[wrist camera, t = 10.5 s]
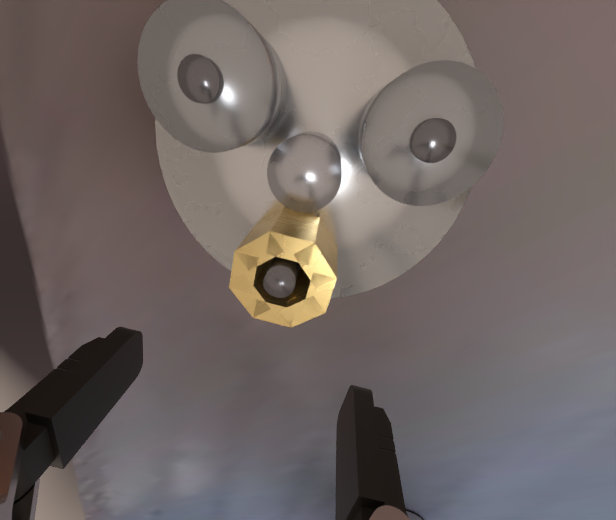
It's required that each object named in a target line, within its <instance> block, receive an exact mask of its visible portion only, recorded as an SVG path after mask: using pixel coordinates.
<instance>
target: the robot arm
mask: <svg viewBox="0 0 616 520" xmlns="http://www.w3.org/2000/svg"><path fill="white" fill-rule="evenodd" d="M142 364H143V339H142V333H141V332H140V331H136V330H132V329H128V328H124V327H118V328H116V329H115V330H114V331H113V332H111V333H110V334H109V335H108V336H107V337H106V338H105V339H104V338H100V337H98V338H96V339H94V340H92V341H90V342H88V343H86V344H84V345H82V346H81V347H80V348H79V349H77V350H76V351H75V352H74V353H73V354H72V355H70V356H69V358H68V359H66V360H65V361H63V362H62V363H61V364H60V365H59V366H58V367H57V369H54V370H53V371H52V372H51V373H49V374H48V375H47V376H46V377H45V378H44V379H43V380H41V381H40V382H39V383H38V384H37V385H36V386H34V387H33V388H32V389H31V390H30V391H29V392H27V393H26V394H25V395H24V396H23V397H22V398H20V399H19V400H18V401H17V402H16V403H15V404H13V405H12V406H11V407H10V408H9V409H7V410H6V411H4V412H0V520H34V518H35V511H36V504H37V497H38V489H39V480H40V479H39V478H40V476H41V475H42V474H43V473H44V471H45V470H46V469H47V468H48V467H49V466H53V467H57V468H61V469H64V468H65V466H66V465H67V464H68V463H69V461H70V460H71V459H72V458H73V456H74V455H75V454H76V453H77V451H78V450H79V449H80V448H81V446H82V445H83V444H84V443H85V441H86V440H87V439H88V438H89V436H90V435H91V434H92V433H93V431H94V430H95V429H96V428H97V426H98V425H99V424H100V423H101V421H102V420H103V419H104V418H105V416H106V415H107V414H108V413H109V411H110V410H111V409H112V408H113V406H114V405H115V404H116V403H117V401H118V400H119V399H120V398H121V396H122V395H123V394H124V393H125V391H126V390H127V389H128V388H129V386H130V385H131V384H132V383H133V381H134V380H135V379H136V378H137V376H138V374H139V372H140V370H141V368H142ZM336 520H422V519H421V518H420V517H418V516H417V515H415V514H413V513H411V512H408V511H406V509H405V505H404V499H403V493H402V487H401V481H400V475H399V469H398V463H397V457H396V455H395V445H394V442H393V434H392V428H391V423H390V421H389V419H388V417H387V415H386V413H385V411H384V410H383V409H382V408H378V407H374V403H373V395H372V391H371V390H370V389H366V388H362V387H358V386H354V385H351V386H350V387H349V390H348V392H347V395H346V397H345V399H344V402H343V404H342V407H341V409H340V412H339V415H338V421H337V442H336Z"/></svg>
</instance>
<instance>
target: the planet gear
mask: <svg viewBox="0 0 616 520" xmlns="http://www.w3.org/2000/svg"><path fill="white" fill-rule="evenodd" d="M274 257H280V258H283V259H287V260H291V261H295V262H299V264H300V265H301V267H302V268H303V270H301V271H299V272H298V276H297V279H296V283H295V287H294V290H293V292H292V293H291V294H290V295H289V296H287V297H284V298H277V297H274V296H271V295H270V294H268V293H267V292H266V290H265V289H264V286H263V279H264V277H265V275H266V273H267V271H268V268H269V266H270V264H271V262H272V260H273V258H274ZM337 257H338V247H337V245H336V243H335V242H334V240H333V238H332V237H331V235H330V233H329V232H328V230H327V228H326V227H325V225H324V223H323V222H322V220H321V218H320V217H317V216H313V215H309V214H305V213H302V212H298V211H294V210H290V209H287V208H283V209H281V210H280V211H278V212H276V213H275V214H273V215H271V216H270V217H268V218H266V219H264V220H263V221H261V222H259V223H258V224H256V225H255V226H254V227H253V228H252V229H251V231H250V232H249V233H248V235H247V236H246V237H245V238H244V240H243V241H242V242H241V244H240V245H239V246H238V247H237V249H236V250H235V251H234V257H233V264H232V271H231V278H230V285H229V288H230V289H231V291H232V292H233V293H234V294H235V296H236V297H237V298H238V299H239V301H240V302H241V303H242V304H243V306H244V307H245V308H246V309H247V311H248V312H249V313H250V315H251V316H252V317H253V318H256V319H260V320H264V321H268V322H272V323H275V324H279V325H283V326H287V327H291V328H292V327H294V326H296V325H299V324H301V323H303V322H305V321H308V320H310V319H312V318H315V317H317V316H319V315H322V314H324V313H326V310H327V307H328V304H329V301H330V298H331V295H332V292H333V289H334V286H335V283H336V280H337Z"/></svg>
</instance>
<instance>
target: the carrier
mask: <svg viewBox="0 0 616 520" xmlns="http://www.w3.org/2000/svg"><path fill="white" fill-rule="evenodd" d="M137 64H138V75H139V80H140V85H141V88H142V92H143V95H144V97H145V100H146V102H147V104H148V106H149V108H150V110H151V112H152V114H153V115H154V117H155V130H156V146H157V152H158V157H159V163H160V168H161V171H162V174H163V178H164V181H165V184H166V188H167V190H168V192H169V195H170V197H171V199H172V202H173V204H174V206H175V208H176V210H177V211H178V213H179V215H180V217H181V219H182V220H183V222H184V224H185V225H186V226H187V228H188V229H189V231H190V232H191V233H192V235H193V236H194V238H195V239H196V240H197V241H198V242H199V243H200V244H201V245H202V247H203V248H204V249H205V250H206V251H207V252H208V253H209V254H210V255H211V256H212V257H214V258H215V259H216V260H217V261H218V262H219V263H220V264H222V265H223V266H224V267H226V268H227V269H228V270H230V271H232V264H233V257H234V251H235V250H236V249H237V247H238V246H239V245H240V244H241V242H242V241H243V240H244V238H245V237H246V236H247V235H248V233H249V232H250V231H251V229H252V228H253V227H254V226H255V225H256V224H258V223H259V222H261V221H263V220H264V219H266V218H268V217H270V216H271V215H273V214H275V213H276V212H278V211H280V210H281V209H283V208H287V209H290V210H294V211H298V212H302V213H305V214H309V215H313V216H317V217H320V218H321V220H322V222H323V223H324V225H325V227H326V228H327V230H328V232H329V233H330V235H331V237H332V238H333V240H334V242H335V243H336V245H337V247H338V257H337V280H336V283H335V286H334V289H333V292H332V295H331V298H338V297H345V296H350V295H354V294H358V293H362V292H366V291H368V290H371V289H374V288H376V287H379V286H381V285H383V284H385V283H387V282H389V281H391V280H393V279H395V278H397V277H399V276H400V275H402V274H403V273H405V272H406V271H408V270H409V269H411V268H412V267H414V266H415V265H416V264H417V263H418V262H419V261H421V260H422V259H423V258H424V257H425V256H426V255H428V254H429V253H430V252H431V250H432V249H433V248H434V247H435V246H436V245H437V244H438V243H439V242H440V241H441V240H442V238H443V237H444V236H445V234H446V233H447V232H448V230H449V229H450V227H451V226H452V225H453V223H454V222H455V220H456V218H457V216H458V215H459V213H460V211H461V209H462V208H463V206H464V204H465V201H466V199H467V197H468V194H469V192H470V189H471V187H472V186H473V185H474V184H475V183H476V182H477V181H478V180H479V179H480V178H481V177H482V176H483V174H484V173H485V172H486V170H487V169H488V168H489V166H490V165H491V163H492V161H493V159H494V158H495V156H496V153H497V151H498V149H499V145H500V142H501V139H502V133H503V123H504V117H503V108H502V104H501V100H500V97H499V95H498V93H497V90H496V89H495V87H494V86H493V84H492V83H491V81H490V80H489V79H488V78H487V77H486V76H485V75H484V74H483V73H482V72H480V71H479V70H478V69H476V68H475V66H474V63H473V60H472V58H471V55H470V53H469V50H468V48H467V46H466V43H465V41H464V39H463V37H462V35H461V33H460V32H459V30H458V28H457V27H456V25H455V24H454V22H453V20H452V19H451V17H450V15H449V14H448V13H447V11H446V10H445V9H444V8H443V7H442V6H441V4H440V3H439V2H438V1H437V0H167V1H166V2H164V3H163V4H162V5H160V6H159V7H158V8H157V9H156V10H155V11H154V13H153V14H152V15H151V16H150V18H149V20H148V21H147V23H146V25H145V27H144V29H143V32H142V35H141V38H140V42H139V48H138V61H137ZM301 270H303V268H302V267H301V265H300V264H299V262H295V261H291V260H287V259H283V258H280V257H274V258H273V260H272V262H271V264H270V266H269V268H268V271H267V273H266V275H265V277H264V279H263V286H264V289H265V290H266V292H267V293H268V294H270V295H271V296H274V297H277V298H284V297H287V296H289V295H290V294H291V293H292V292H293V290H294V287H295V283H296V279H297V276H298V272H299V271H301Z"/></svg>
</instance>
